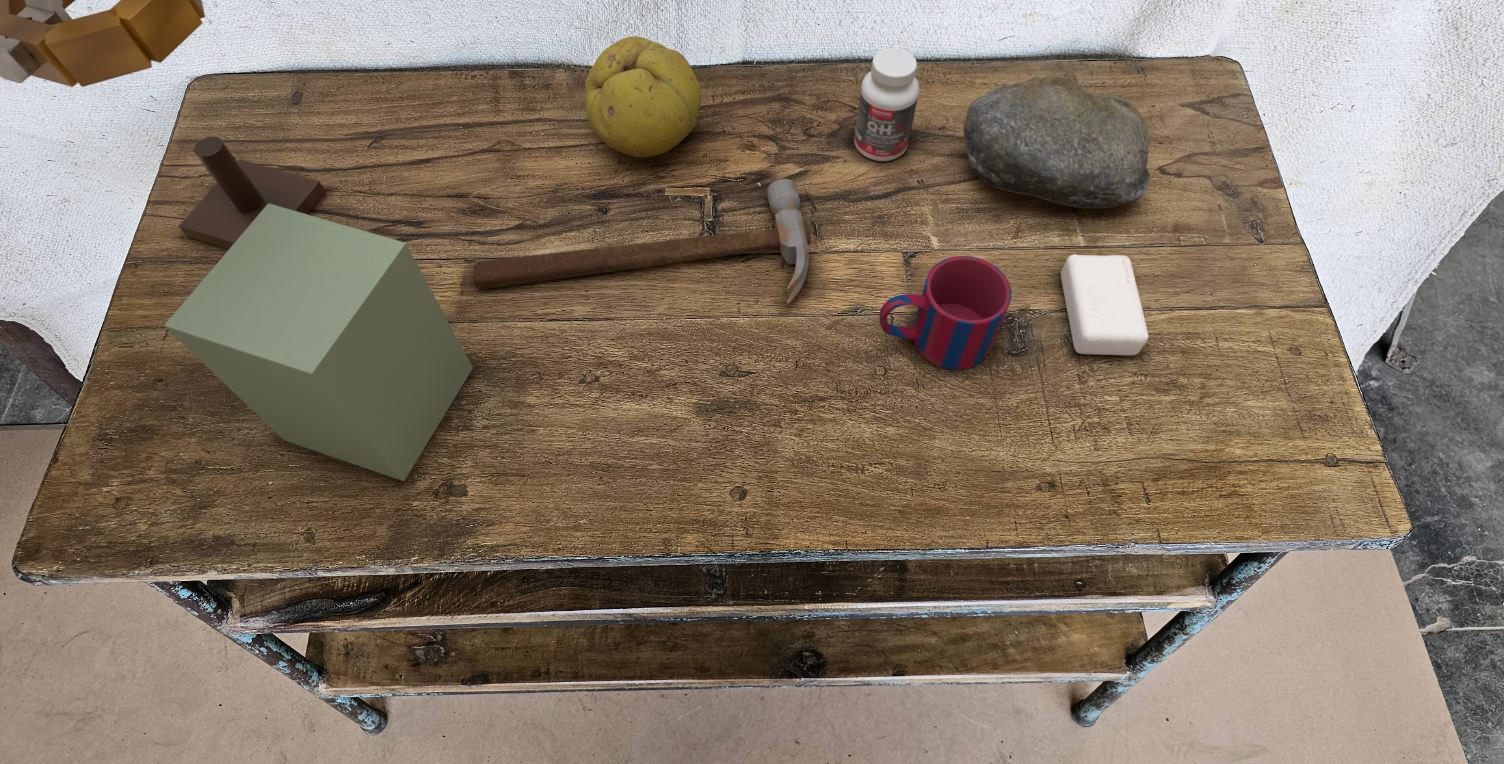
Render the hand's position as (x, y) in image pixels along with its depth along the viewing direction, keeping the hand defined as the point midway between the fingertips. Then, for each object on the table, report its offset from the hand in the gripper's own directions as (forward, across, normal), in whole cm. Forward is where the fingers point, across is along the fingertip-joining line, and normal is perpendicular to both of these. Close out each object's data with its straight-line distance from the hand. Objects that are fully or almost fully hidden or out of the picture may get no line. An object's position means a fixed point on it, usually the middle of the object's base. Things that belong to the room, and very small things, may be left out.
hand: (42, 56), depth 46 cm
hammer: (+30, -18, +24) cm, 43 cm away
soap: (+30, -26, +63) cm, 75 cm away
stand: (+30, -12, -13) cm, 34 cm away
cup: (+30, -19, +50) cm, 62 cm away
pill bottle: (+31, -40, +40) cm, 64 cm away
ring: (+1, -4, 0) cm, 4 cm away
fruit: (+30, -33, +18) cm, 48 cm away
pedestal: (+30, +2, +10) cm, 31 cm away
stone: (+31, -41, +56) cm, 76 cm away
